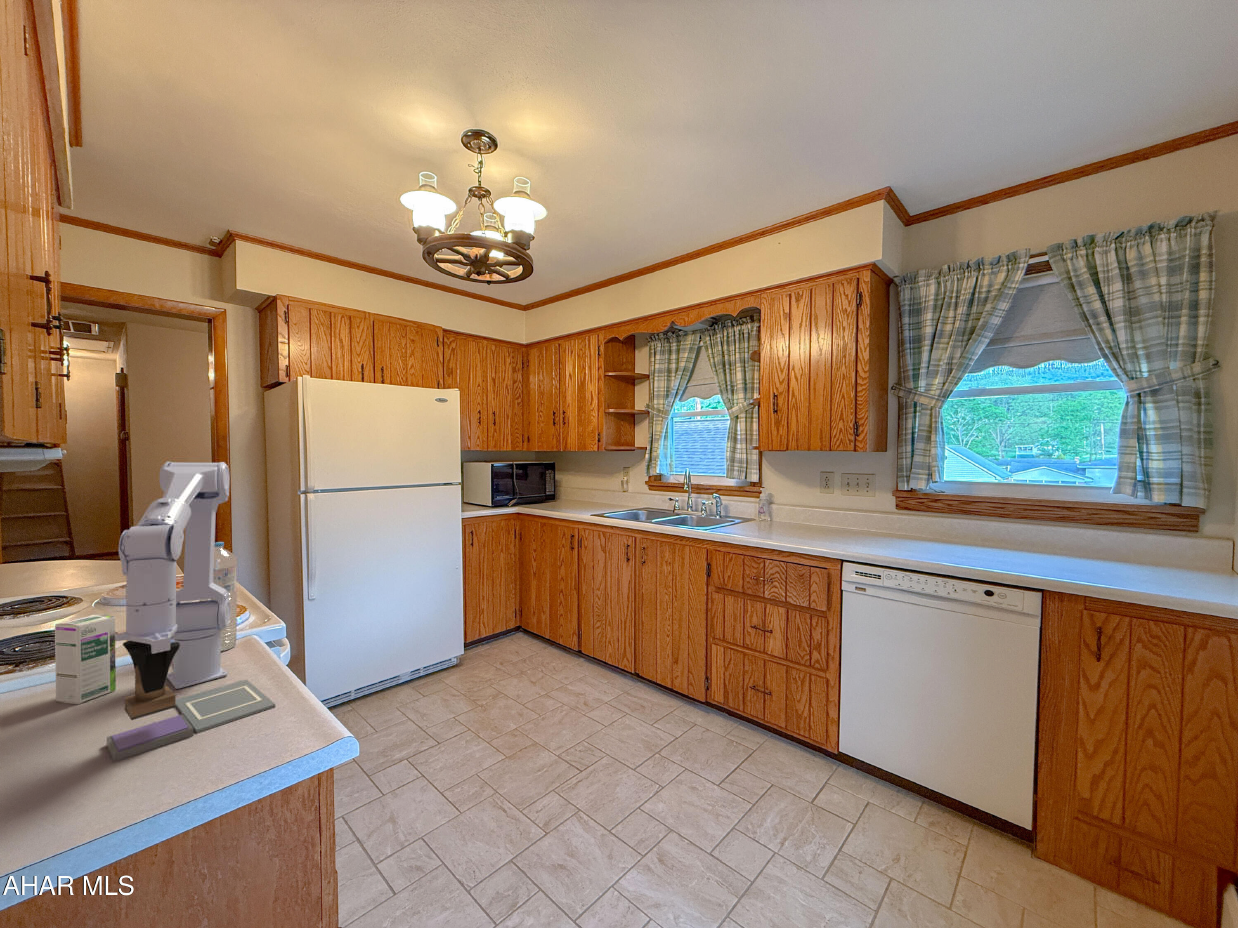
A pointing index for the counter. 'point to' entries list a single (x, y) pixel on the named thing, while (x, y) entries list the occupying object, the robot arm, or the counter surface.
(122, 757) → the ink pad
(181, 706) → the board
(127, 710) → the stamp
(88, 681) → the syrup box
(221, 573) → the water bottle
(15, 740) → the counter surface
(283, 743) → the counter surface
